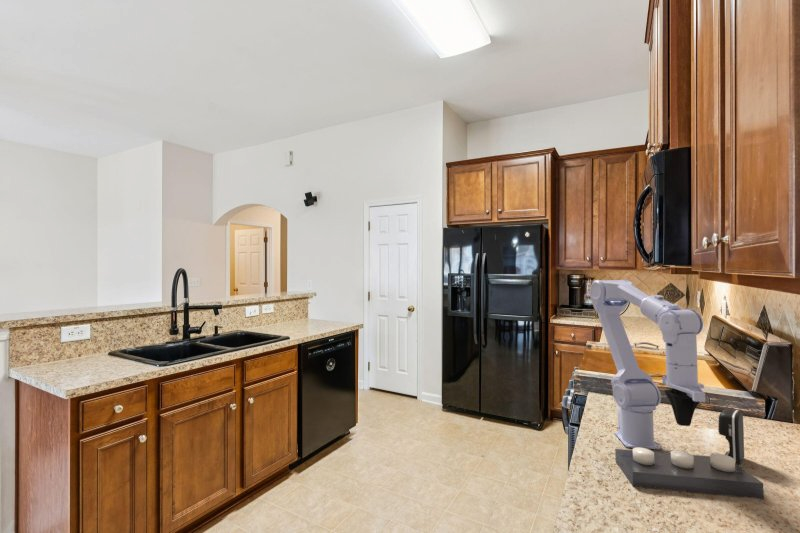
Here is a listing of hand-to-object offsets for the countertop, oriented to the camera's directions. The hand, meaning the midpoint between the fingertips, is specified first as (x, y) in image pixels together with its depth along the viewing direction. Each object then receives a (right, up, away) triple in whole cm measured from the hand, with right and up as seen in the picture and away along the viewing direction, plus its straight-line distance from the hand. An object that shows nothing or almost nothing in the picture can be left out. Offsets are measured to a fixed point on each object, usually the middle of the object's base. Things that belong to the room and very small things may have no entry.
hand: (683, 424), depth 87 cm
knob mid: (-3, -10, -3) cm, 11 cm away
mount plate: (-3, -10, -3) cm, 11 cm away
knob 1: (-10, -10, -2) cm, 14 cm away
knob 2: (+5, -10, -5) cm, 12 cm away
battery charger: (+15, -11, +5) cm, 19 cm away
